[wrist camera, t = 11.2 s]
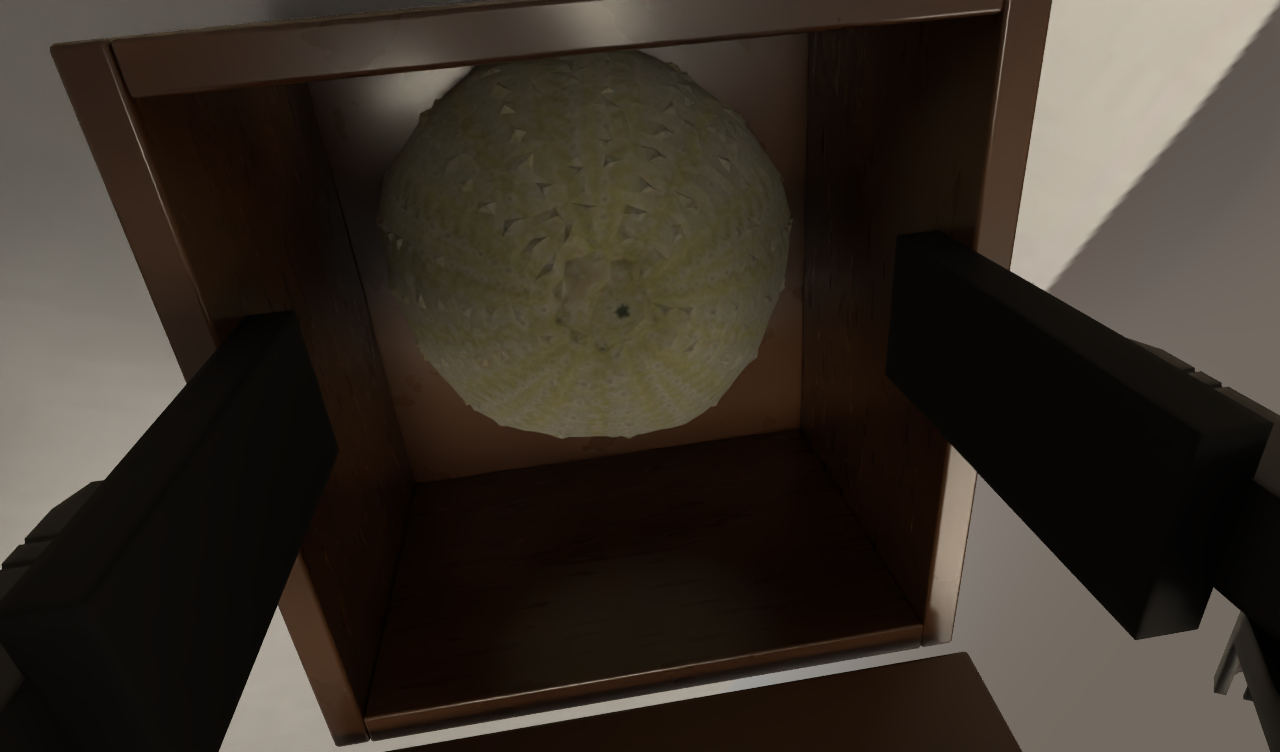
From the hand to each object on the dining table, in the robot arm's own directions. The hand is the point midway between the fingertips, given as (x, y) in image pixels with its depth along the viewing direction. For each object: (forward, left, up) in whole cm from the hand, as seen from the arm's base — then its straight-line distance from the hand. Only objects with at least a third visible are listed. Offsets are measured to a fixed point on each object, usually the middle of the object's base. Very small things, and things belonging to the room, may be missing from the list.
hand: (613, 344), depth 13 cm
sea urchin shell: (0, 0, -7) cm, 7 cm away
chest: (+1, 0, -8) cm, 8 cm away
